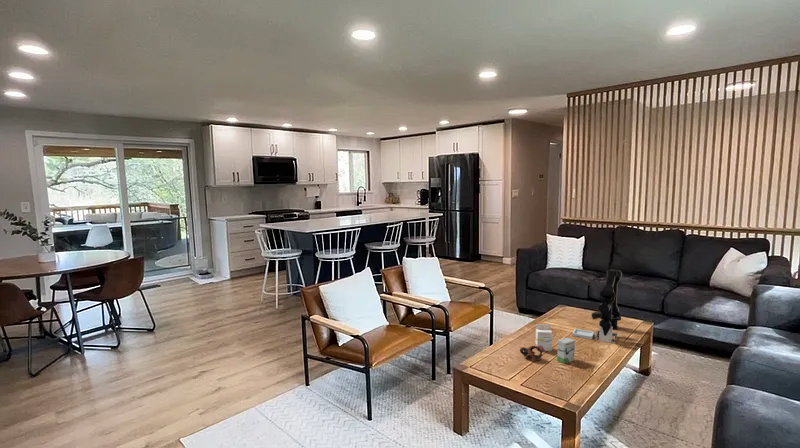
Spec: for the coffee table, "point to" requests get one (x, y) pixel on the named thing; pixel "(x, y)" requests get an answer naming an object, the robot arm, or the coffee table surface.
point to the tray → (583, 333)
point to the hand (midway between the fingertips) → (605, 333)
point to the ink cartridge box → (543, 337)
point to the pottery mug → (531, 352)
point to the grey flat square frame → (606, 341)
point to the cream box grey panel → (608, 336)
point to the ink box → (566, 350)
